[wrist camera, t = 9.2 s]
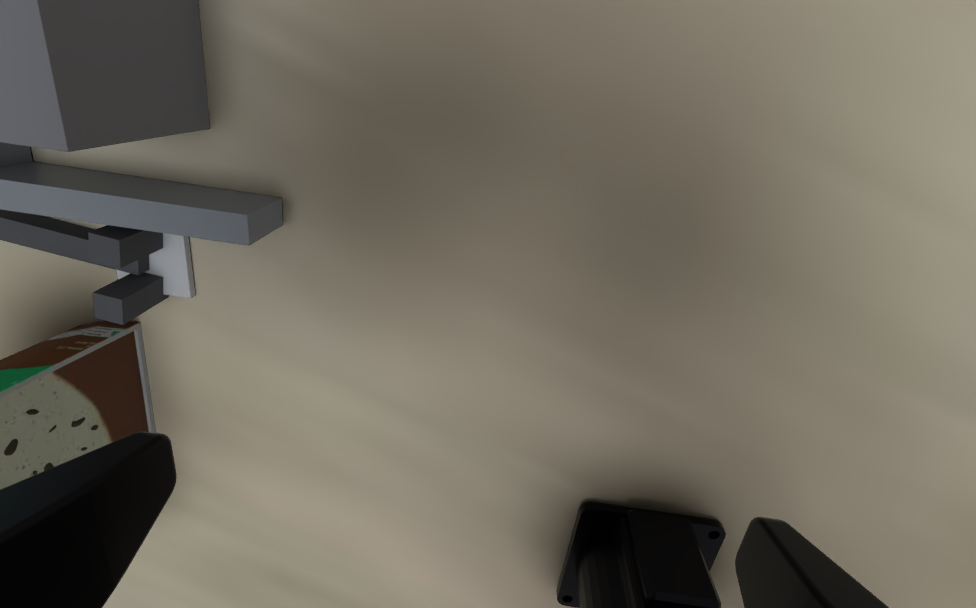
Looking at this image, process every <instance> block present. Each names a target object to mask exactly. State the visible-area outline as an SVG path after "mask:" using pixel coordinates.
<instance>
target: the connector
mask: <svg viewBox="0 0 976 608" xmlns="http://www.w3.org/2000/svg"><path fill="white" fill-rule="evenodd" d="M205 129H210V121H209V110H208V99H207V88H206V78H205V67H204V56H203V46H202V35H201V24H200V13H199V3H198V0H0V142H2V143H9V144H16V145H23V146H30V147H37V148H44V149H51V150H58V151H65V152H71V151H77V150H83V149H89V148H95V147H101V146H107V145H114V144H120V143H126V142H132V141H138V140H144V139H150V138H156V137H162V136H168V135H174V134H180V133H186V132H193V131H199V130H205Z"/></svg>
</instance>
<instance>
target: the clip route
mask: <svg viewBox="0 0 976 608" xmlns="http://www.w3.org/2000/svg"><path fill="white" fill-rule="evenodd" d="M0 240H3V241H7V242H11V243H15V244H19V245H22V246H26V247H30V248H34V249H38V250H42V251H46V252H50V253H54V254H57V255H61V256H65V257H69V258H73V259H77V260H81V261H85V262H88V263H92V264H96V265H100V266H104V267H108V268H112V269H116V271H117V277H118V280H117V281H115V282H113V283H111V284H109V285H107V286H105V287H103V288H101V289H99V290H97V291H95V292H93V305H94V318H97V319H101V320H105V321H109V322H113V323H117V324H121V325H124V324H126V323H127V322H129V321H131V320H132V319H134V318H135V317H137V316H139V315H140V314H142V313H143V312H145V311H147V310H148V309H150V308H151V307H153V306H155V305H156V304H158V303H159V302H161V301H163V300H164V299H166V298H168V295H172V296H178V297H185V298H192V297H194V296H195V288H194V279H193V271H192V262H191V254H190V245H189V237H187V236H180V235H173V234H166V233H159V232H152V231H145V230H139V229H132V228H125V227H118V226H111V225H107V226H105V227H102V228H99V229H96V230H93V229H89V228H85V227H81V226H78V225H74V224H70V223H66V222H62V221H58V220H55V219H51V218H47V217H43V216H39V215H35V214H29V213H22V212H15V211H8V210H1V209H0Z"/></svg>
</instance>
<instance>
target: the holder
mask: <svg viewBox="0 0 976 608" xmlns="http://www.w3.org/2000/svg"><path fill="white" fill-rule="evenodd" d="M0 209H1V210H8V211H15V212H22V213H29V214H36V215H43V216H49V217H56V218H63V219H70V220H77V221H84V222H91V223H97V224H104V225H111V226H118V227H125V228H132V229H139V230H145V231H152V232H159V233H166V234H173V235H180V236H187V237H193V238H200V239H207V240H214V241H221V242H228V243H235V244H241V245H248V246H249V245H251V244H253V243H254V242H256V241H258V240H259V239H261V238H262V237H264V236H266V235H267V234H269V233H271V232H272V231H274V230H275V229H277V228H279V227H280V226H282V225H283V217H282V198H279V197H272V196H266V195H259V194H252V193H245V192H238V191H231V190H224V189H217V188H211V187H204V186H197V185H190V184H183V183H176V182H169V181H162V180H156V179H149V178H142V177H135V176H128V175H121V174H114V173H107V172H101V171H94V170H87V169H80V168H73V167H66V166H59V165H52V164H46V163H39V162H33V159H32V155H31V151H30V146H23V145H16V144H9V143H2V142H0Z"/></svg>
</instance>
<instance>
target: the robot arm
mask: <svg viewBox="0 0 976 608" xmlns="http://www.w3.org/2000/svg"><path fill="white" fill-rule="evenodd" d="M175 483H176V469H175V463H174V457H173V451H172V446H171V441H170V439H169V438H168V436H166V435H164V434H159V433H152V432H145V431H144V432H136V433H133V434H131V435H129V436H126V437H124V438H122V439H119V440H117V441H114V442H112V443H110V444H107V445H105V446H103V447H100V448H98V449H95V450H93V451H91V452H88V453H86V454H84V455H81V456H79V457H76V458H74V459H72V460H69V461H67V462H65V463H62V464H60V465H57V466H55V467H53V468H50V469H48V470H46V471H43V472H41V473H38V474H36V475H34V476H31V477H29V478H27V479H24V480H22V481H19V482H17V483H15V484H12V485H10V486H8V487H5V488H3V489H0V608H102V607H103V605H104V604H105V602H106V601H107V600H108V598H109V597H110V595H111V594H112V592H113V591H114V589H115V588H116V586H117V585H118V583H119V581H120V580H121V578H122V577H123V575H124V574H125V572H126V570H127V569H128V567H129V565H130V563H131V562H132V560H133V558H134V557H135V555H136V553H137V551H138V550H139V548H140V546H141V545H142V543H143V541H144V540H145V538H146V536H147V534H148V533H149V531H150V529H151V528H152V526H153V524H154V523H155V521H156V519H157V517H158V516H159V514H160V512H161V511H162V509H163V507H164V505H165V504H166V502H167V500H168V499H169V497H170V495H171V494H172V492H173V489H174V487H175ZM589 513H594V514H589ZM712 531H713V532H712ZM725 534H726V533H725V531H724V529H723V526H722V524H721V523H720V522H719V521H717V520H712V519H706V518H699V517H692V516H685V515H678V514H672V513H665V512H658V511H651V510H644V509H638V508H631V507H624V506H617V505H610V504H604V503H597V502H587V503H584V504H583V505H581V507H580V508H579V512H578V516H577V519H576V523H575V526H574V530H573V534H572V537H571V541H570V544H569V548H568V552H567V555H566V559H565V562H564V566H563V570H562V573H561V577H560V580H559V584H558V588H557V600H558V602H559V603H560V604H562V605H565V606H571V607H578V608H721V602H720V599H719V596H718V594H717V591H716V588H715V586H714V583H713V580H712V578H711V575H710V572H709V571H710V569H711V567H712V565H713V562H714V560H715V558H716V556H717V553H718V551H719V549H720V547H721V545H722V542H723V540H724V538H725ZM735 566H736V573H737V578H738V582H739V586H740V590H741V595H742V599H743V603H744V607H745V608H889V607H888V606H886V605H885V604H884V603H883V602H882V601H880V600H879V599H878V598H877V597H876V596H874V595H873V594H872V593H871V592H869V591H868V590H867V589H866V588H865V587H863V586H862V585H861V584H860V583H859V582H857V581H856V580H855V579H854V578H853V577H851V576H850V575H849V574H848V573H847V572H845V571H844V570H843V569H842V568H841V567H839V566H838V565H837V564H836V563H835V562H833V561H832V560H831V559H830V558H829V557H827V556H826V555H825V554H824V553H823V552H821V551H820V550H819V549H818V548H817V547H815V546H814V545H813V544H812V543H810V542H809V541H808V540H807V539H806V538H804V537H803V536H802V535H801V534H800V533H798V532H797V531H796V530H795V529H794V528H792V527H791V526H790V525H789V524H787V523H786V522H784V521H782V520H778V519H771V518H763V517H756V518H754V519H753V520H752V521H751V522H750V524H749V526H748V529H747V531H746V533H745V536H744V538H743V540H742V543H741V545H740V547H739V550H738V552H737V555H736V561H735Z"/></svg>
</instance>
